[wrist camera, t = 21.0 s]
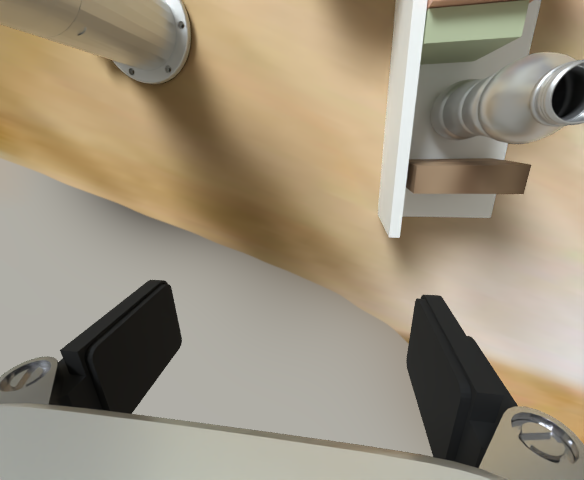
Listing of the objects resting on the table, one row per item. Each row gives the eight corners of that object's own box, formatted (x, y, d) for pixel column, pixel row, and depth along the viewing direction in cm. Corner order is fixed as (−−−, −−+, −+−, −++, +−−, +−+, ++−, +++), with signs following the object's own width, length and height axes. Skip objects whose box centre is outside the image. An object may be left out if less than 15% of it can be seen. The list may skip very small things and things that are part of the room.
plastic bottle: (423, 91, 35) (521, 47, 16) (484, 75, 33) (667, 8, 15) (427, 145, 37) (517, 160, 18) (484, 132, 35) (645, 135, 17)
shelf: (377, 214, 42) (393, 247, 30) (399, -46, 31) (438, -156, 19) (487, 215, 40) (551, 252, 28) (550, -64, 29) (700, -201, 17)
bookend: (399, 181, 39) (413, 193, 31) (401, 159, 38) (417, 165, 30) (486, 181, 37) (523, 194, 30) (491, 158, 36) (531, 164, 29)
